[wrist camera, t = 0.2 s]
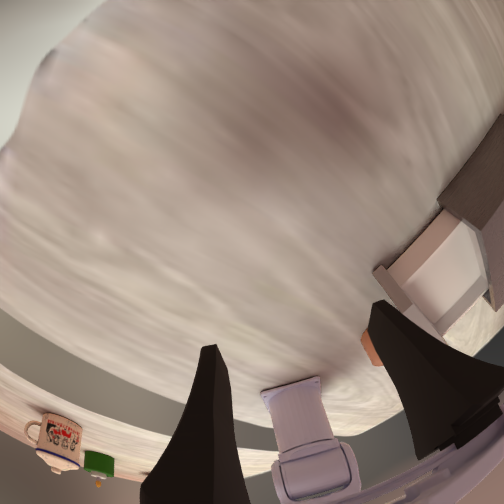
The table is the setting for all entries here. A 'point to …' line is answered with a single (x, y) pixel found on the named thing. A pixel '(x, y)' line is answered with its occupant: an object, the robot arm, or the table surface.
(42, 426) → the teacup with lid
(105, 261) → the table surface
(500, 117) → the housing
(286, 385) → the robot arm
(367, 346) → the orange rounded part
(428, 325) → the tray
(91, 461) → the candle
